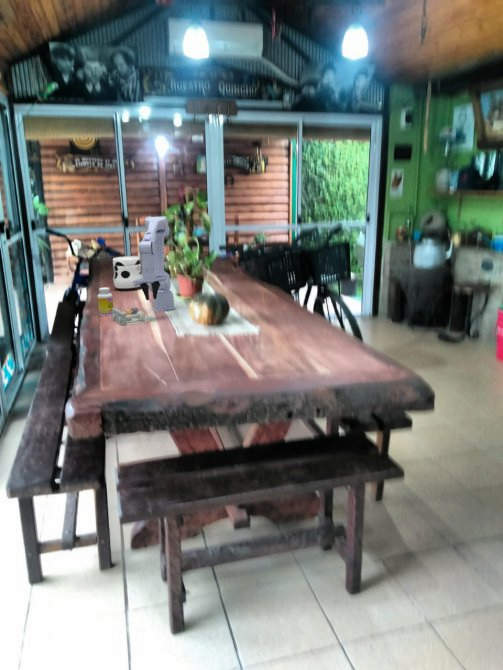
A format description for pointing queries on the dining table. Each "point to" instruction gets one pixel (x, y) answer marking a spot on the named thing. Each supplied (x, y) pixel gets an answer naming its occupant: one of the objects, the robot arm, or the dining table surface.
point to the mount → (124, 322)
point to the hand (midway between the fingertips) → (151, 299)
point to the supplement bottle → (105, 302)
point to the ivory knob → (134, 316)
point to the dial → (128, 313)
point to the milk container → (126, 272)
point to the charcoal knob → (133, 311)
